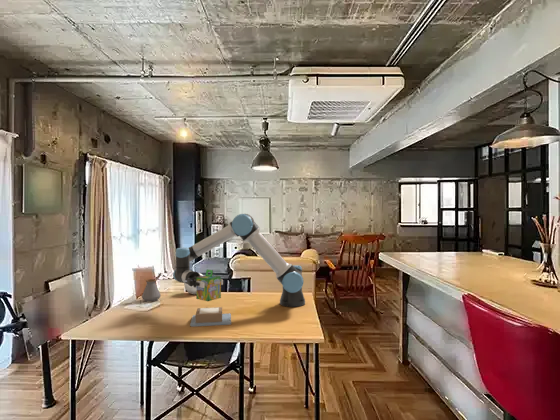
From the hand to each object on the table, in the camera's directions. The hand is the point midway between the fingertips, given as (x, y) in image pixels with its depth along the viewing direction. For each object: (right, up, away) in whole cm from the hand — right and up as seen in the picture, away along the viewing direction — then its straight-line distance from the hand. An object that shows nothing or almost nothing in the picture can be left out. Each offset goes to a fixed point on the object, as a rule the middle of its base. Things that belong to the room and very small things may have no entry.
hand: (213, 283), depth 200 cm
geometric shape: (-24, -20, +68) cm, 75 cm away
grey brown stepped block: (-2, -20, +3) cm, 20 cm away
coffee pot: (-47, -20, +55) cm, 75 cm away
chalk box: (-3, -9, +3) cm, 10 cm away
